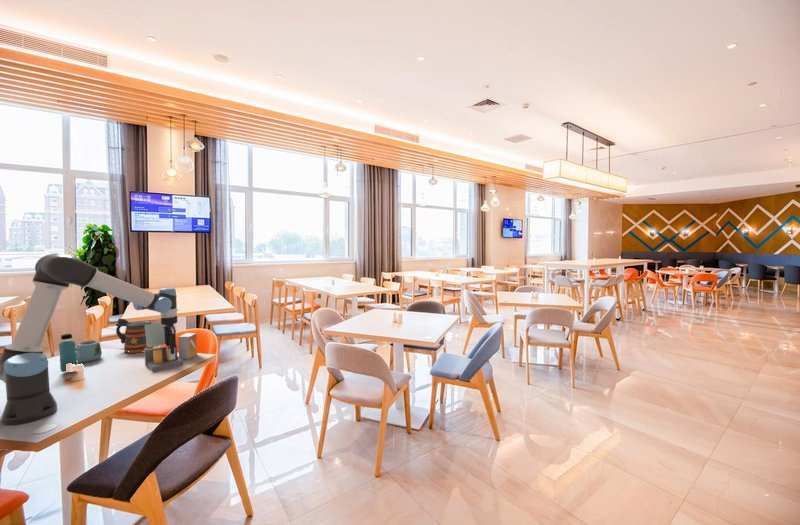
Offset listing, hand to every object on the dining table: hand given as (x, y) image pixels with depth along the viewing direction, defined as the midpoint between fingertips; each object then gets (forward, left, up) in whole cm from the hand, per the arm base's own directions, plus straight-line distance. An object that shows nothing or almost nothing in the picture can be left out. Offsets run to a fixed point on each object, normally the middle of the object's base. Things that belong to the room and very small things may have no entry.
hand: (171, 358), depth 197 cm
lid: (-3, +9, +12) cm, 16 cm away
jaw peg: (0, 0, -2) cm, 2 cm away
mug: (-32, +39, -3) cm, 51 cm away
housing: (-3, 0, -3) cm, 4 cm away
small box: (+10, +6, -3) cm, 12 cm away
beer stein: (-9, +43, -3) cm, 44 cm away
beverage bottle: (-40, +23, -3) cm, 46 cm away
